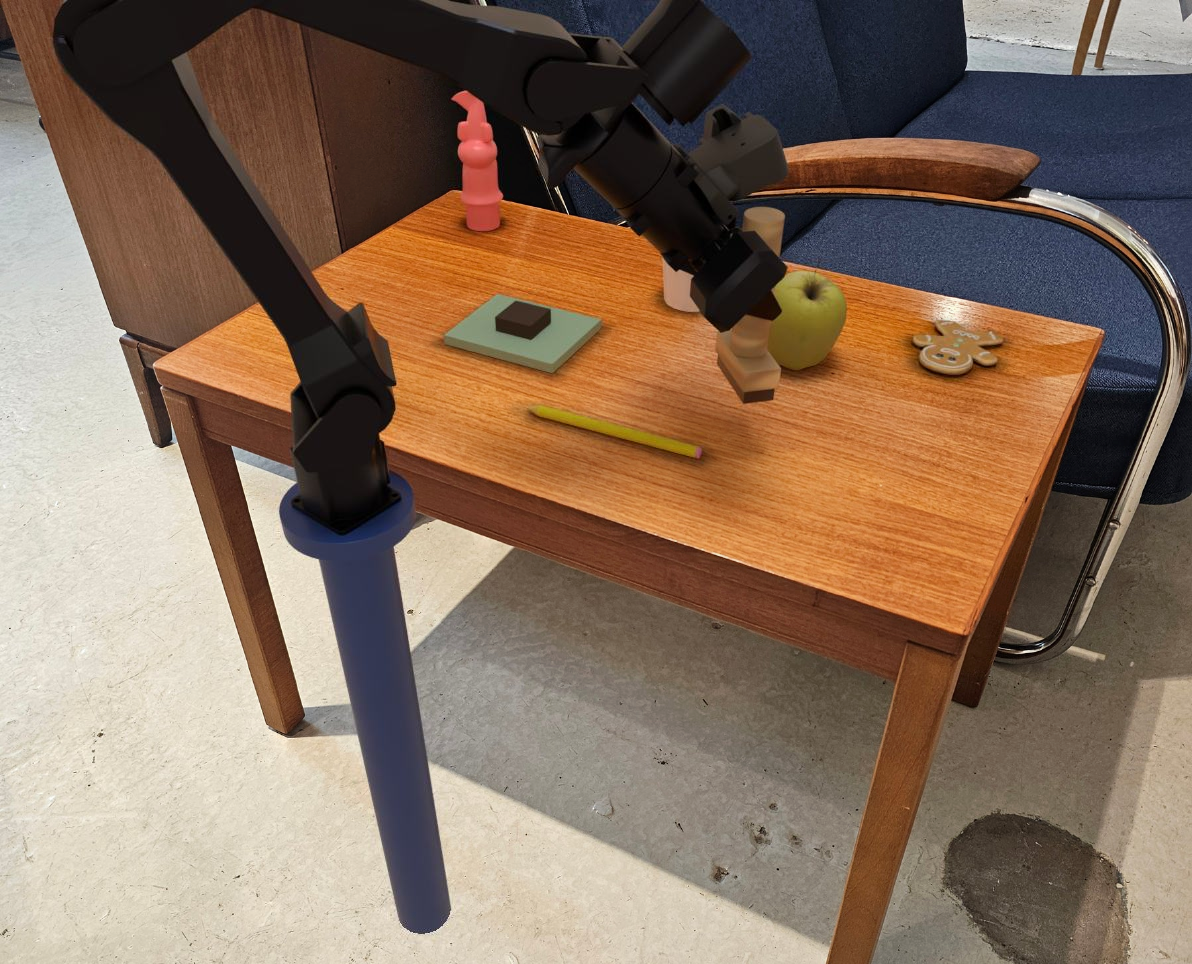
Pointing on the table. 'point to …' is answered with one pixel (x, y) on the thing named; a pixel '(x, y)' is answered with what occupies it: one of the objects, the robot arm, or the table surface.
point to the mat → (537, 353)
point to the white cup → (677, 289)
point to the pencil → (617, 431)
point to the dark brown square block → (523, 320)
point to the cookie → (956, 348)
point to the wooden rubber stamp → (752, 327)
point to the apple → (806, 319)
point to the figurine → (478, 166)
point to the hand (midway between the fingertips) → (769, 306)
